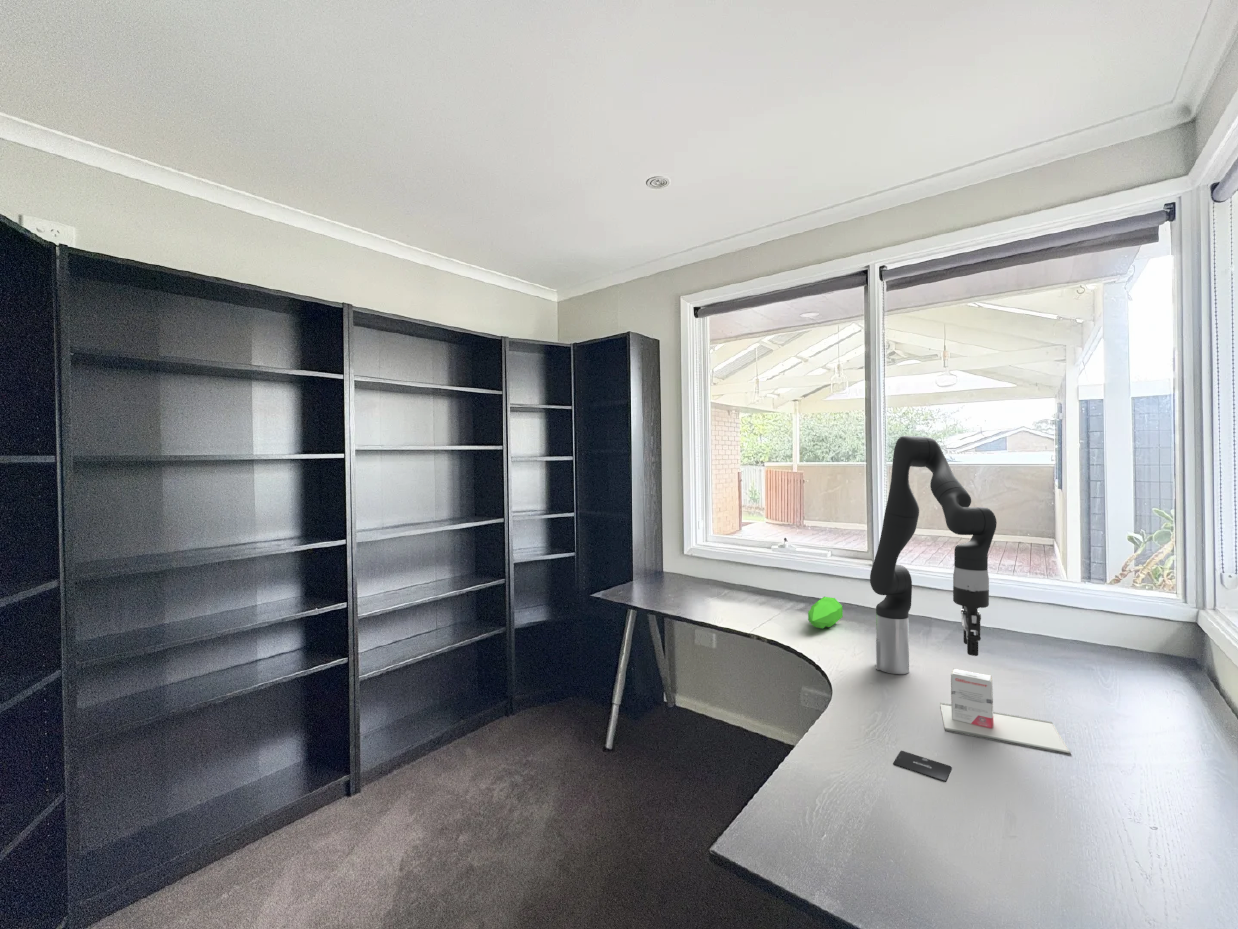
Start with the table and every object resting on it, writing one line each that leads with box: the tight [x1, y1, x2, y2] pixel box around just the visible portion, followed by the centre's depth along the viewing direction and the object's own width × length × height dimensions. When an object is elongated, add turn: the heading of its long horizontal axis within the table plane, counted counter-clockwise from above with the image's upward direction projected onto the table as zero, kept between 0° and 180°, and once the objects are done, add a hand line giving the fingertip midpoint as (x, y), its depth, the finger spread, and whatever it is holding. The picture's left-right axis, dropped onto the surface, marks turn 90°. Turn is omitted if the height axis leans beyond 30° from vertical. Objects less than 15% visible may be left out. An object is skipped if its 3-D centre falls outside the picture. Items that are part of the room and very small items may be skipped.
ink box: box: [950, 668, 994, 728], centre depth 132 cm, size 9×5×12 cm, turn 52°
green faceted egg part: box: [807, 596, 844, 629], centre depth 211 cm, size 11×12×30 cm
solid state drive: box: [892, 750, 953, 783], centre depth 113 cm, size 7×10×1 cm
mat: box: [939, 702, 1072, 756], centre depth 130 cm, size 24×16×1 cm, turn 62°
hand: (970, 649), depth 132 cm, fingers open, 8 cm apart
